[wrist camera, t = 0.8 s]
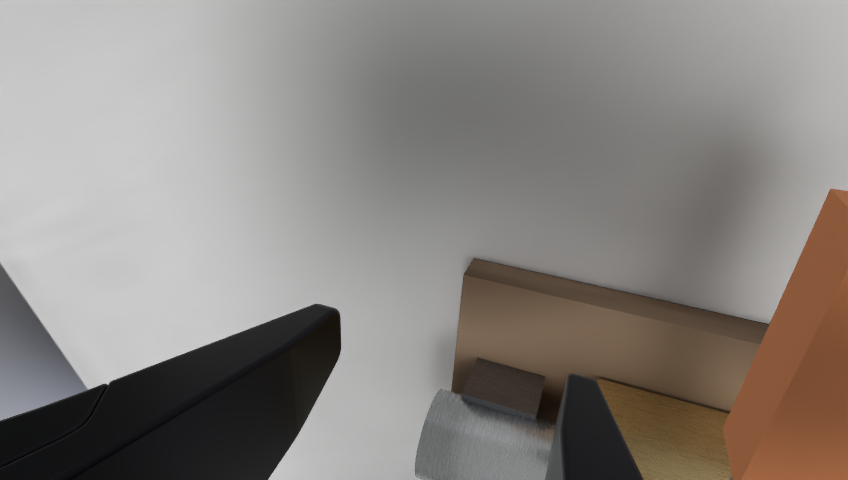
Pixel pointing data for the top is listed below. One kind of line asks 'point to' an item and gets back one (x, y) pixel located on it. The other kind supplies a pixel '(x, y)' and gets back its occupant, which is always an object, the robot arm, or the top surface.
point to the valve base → (588, 356)
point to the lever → (800, 369)
